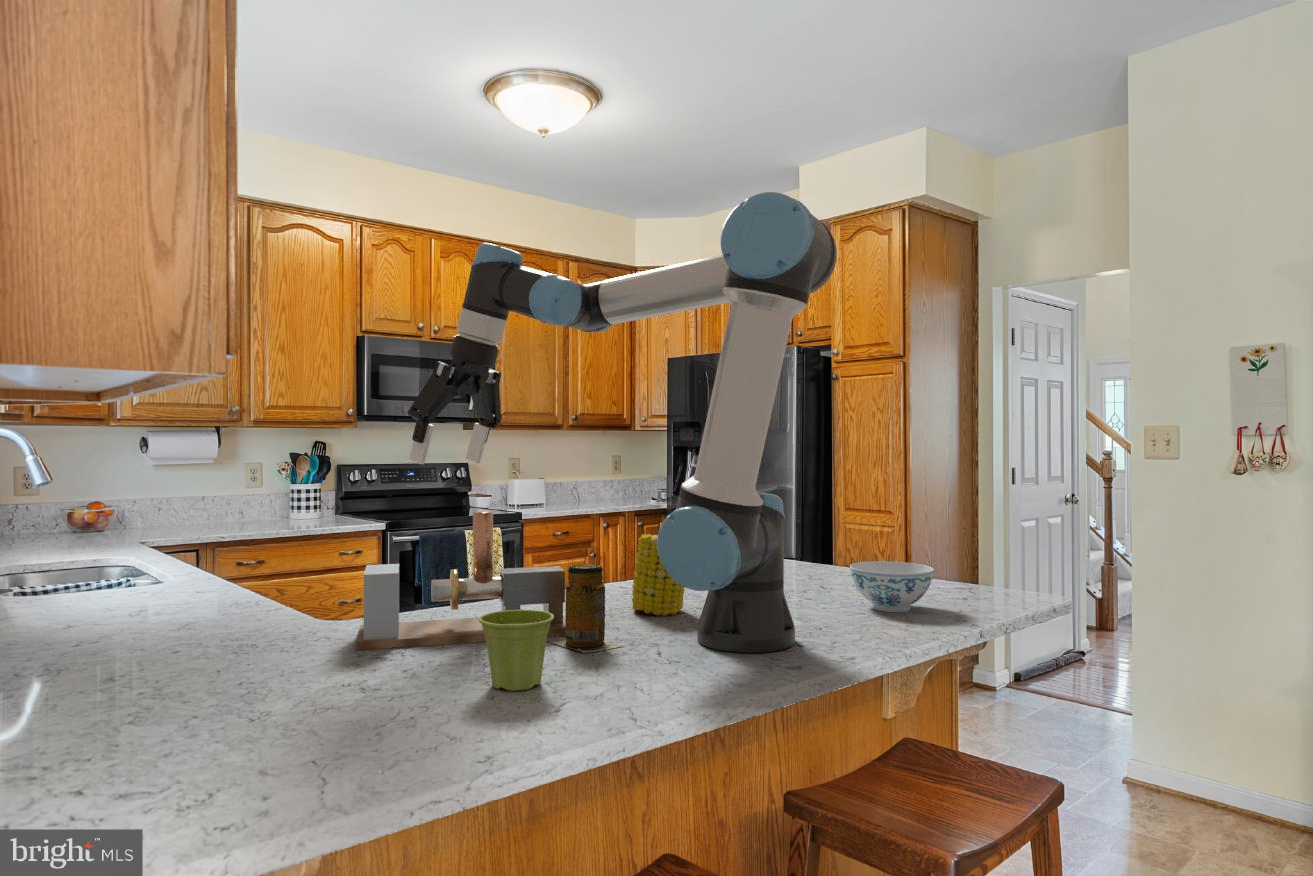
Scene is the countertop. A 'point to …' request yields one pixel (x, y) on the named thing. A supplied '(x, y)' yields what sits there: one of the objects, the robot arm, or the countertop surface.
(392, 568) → the socket block
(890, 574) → the chinaware
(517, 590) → the grey concrete block
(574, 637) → the condiment
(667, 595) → the food
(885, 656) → the countertop surface
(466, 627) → the base board
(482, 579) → the tube
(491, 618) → the plant pot
